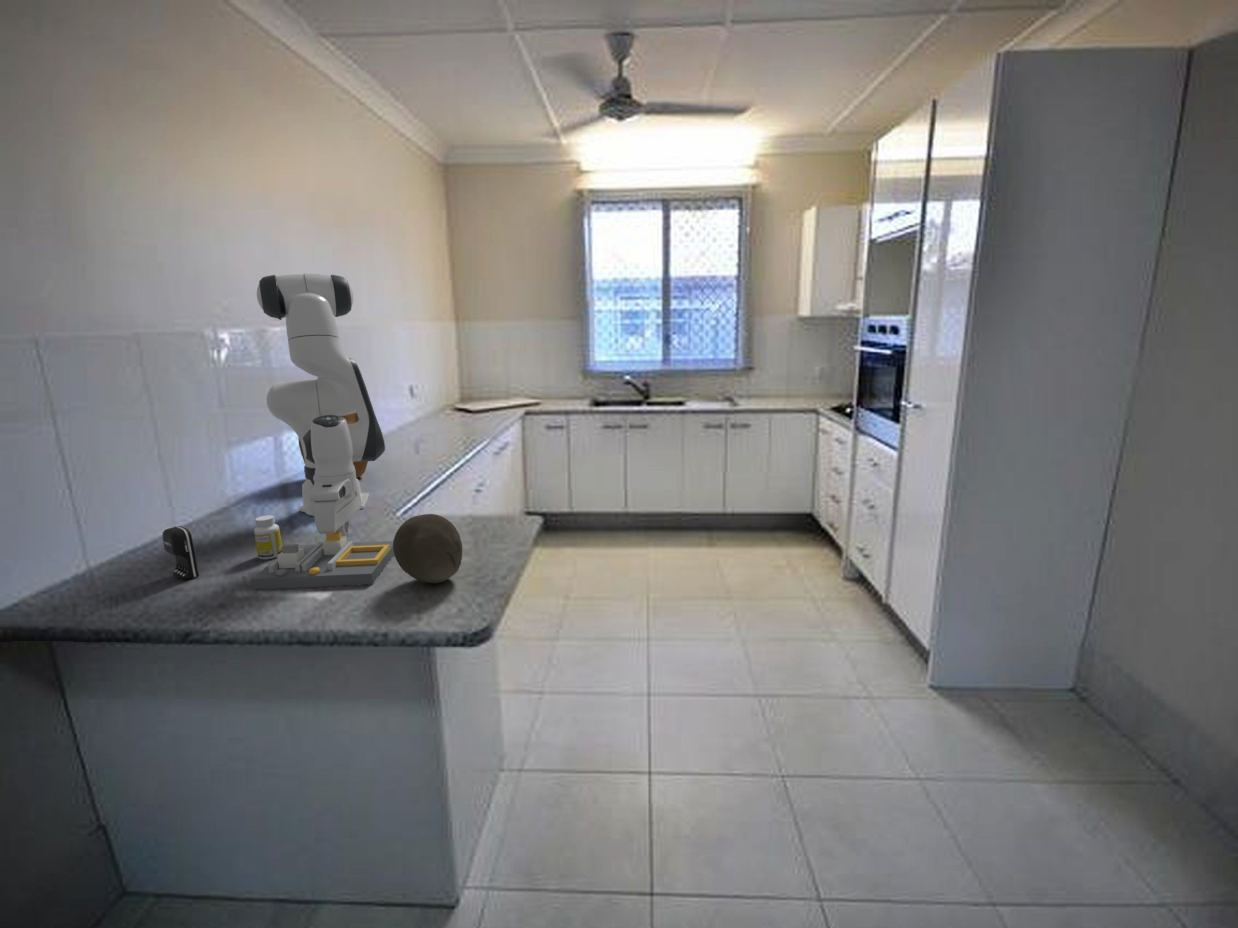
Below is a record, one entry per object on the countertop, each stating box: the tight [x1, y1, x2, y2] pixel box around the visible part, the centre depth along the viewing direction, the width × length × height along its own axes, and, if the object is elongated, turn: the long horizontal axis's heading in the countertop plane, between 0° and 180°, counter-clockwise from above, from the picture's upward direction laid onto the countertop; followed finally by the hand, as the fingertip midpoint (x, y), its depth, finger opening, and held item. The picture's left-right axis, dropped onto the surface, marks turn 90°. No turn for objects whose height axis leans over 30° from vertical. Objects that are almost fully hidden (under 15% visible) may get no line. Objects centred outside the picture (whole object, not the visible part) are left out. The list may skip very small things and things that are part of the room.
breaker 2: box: [322, 532, 348, 555], centre depth 147 cm, size 4×4×5 cm
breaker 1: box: [276, 543, 305, 568], centre depth 139 cm, size 4×4×5 cm
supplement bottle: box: [253, 514, 283, 560], centre depth 151 cm, size 5×5×10 cm
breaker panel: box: [251, 540, 395, 591], centre depth 144 cm, size 20×25×4 cm
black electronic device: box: [162, 525, 200, 581], centre depth 140 cm, size 7×4×11 cm, turn 55°
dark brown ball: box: [392, 513, 463, 584], centre depth 134 cm, size 14×14×15 cm
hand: (344, 538), depth 152 cm, fingers closed
